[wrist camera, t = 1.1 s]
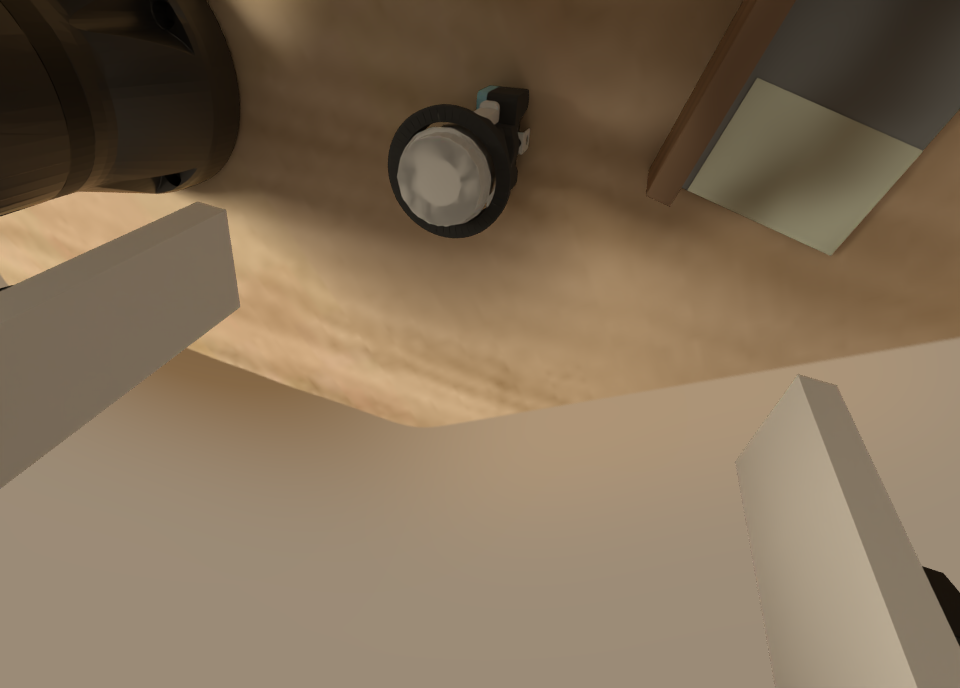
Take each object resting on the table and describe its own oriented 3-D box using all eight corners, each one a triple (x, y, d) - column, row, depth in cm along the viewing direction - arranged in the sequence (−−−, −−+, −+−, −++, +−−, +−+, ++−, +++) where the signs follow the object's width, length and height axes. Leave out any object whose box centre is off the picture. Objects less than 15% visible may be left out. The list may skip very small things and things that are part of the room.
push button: (541, 211, 30) (495, 285, 22) (456, 197, 31) (382, 263, 23) (558, 84, 26) (509, 118, 18) (460, 74, 27) (373, 102, 19)
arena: (648, 170, 27) (645, 195, 23) (822, -141, 19) (857, -175, 16) (828, 252, 26) (853, 291, 23) (1079, -34, 19) (1176, -44, 15)
